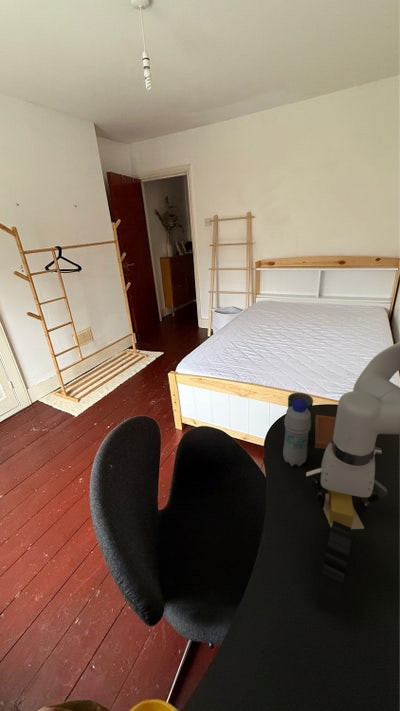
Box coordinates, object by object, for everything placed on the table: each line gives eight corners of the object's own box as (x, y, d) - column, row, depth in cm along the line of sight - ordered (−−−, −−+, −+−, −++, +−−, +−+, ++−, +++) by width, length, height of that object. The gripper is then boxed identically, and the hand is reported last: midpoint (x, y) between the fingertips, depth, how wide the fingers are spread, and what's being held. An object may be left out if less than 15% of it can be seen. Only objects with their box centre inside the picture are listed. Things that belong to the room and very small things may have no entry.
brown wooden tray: (315, 419, 99) (315, 414, 98) (353, 425, 95) (354, 420, 94) (314, 447, 87) (315, 442, 87) (358, 455, 84) (359, 449, 83)
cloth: (346, 493, 73) (346, 492, 73) (364, 528, 65) (364, 527, 65) (317, 494, 73) (317, 494, 73) (331, 530, 65) (331, 529, 65)
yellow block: (328, 493, 73) (330, 482, 71) (348, 497, 71) (350, 486, 70) (329, 522, 66) (331, 510, 64) (351, 528, 65) (354, 516, 63)
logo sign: (332, 527, 66) (338, 492, 61) (349, 534, 64) (357, 498, 59) (313, 613, 52) (320, 577, 47) (335, 625, 50) (344, 589, 45)
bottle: (309, 456, 85) (316, 397, 76) (303, 472, 79) (310, 412, 71) (285, 448, 88) (289, 391, 79) (278, 464, 83) (282, 405, 74)
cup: (285, 446, 89) (288, 405, 82) (285, 431, 94) (287, 391, 88) (309, 449, 87) (314, 407, 80) (307, 433, 93) (312, 393, 86)
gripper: (396, 444, 61) (380, 502, 69) (307, 429, 67) (301, 485, 75) (405, 471, 55) (386, 533, 62) (306, 453, 61) (299, 511, 68)
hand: (340, 506), depth 68 cm, fingers open, 7 cm apart
